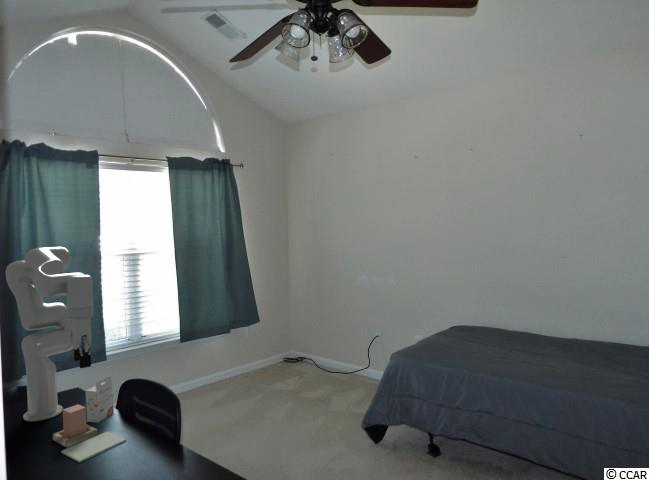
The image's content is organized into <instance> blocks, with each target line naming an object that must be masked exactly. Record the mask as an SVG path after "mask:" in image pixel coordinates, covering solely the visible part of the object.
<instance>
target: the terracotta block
mask: <svg viewBox="0 0 649 480" xmlns="http://www.w3.org/2000/svg"><path fill="white" fill-rule="evenodd" d="M62 421H63V422H62V423H63V426H62V427H63V430H64V437H66V438H68V439H71V438H73V437H76V436H78V435H81V434H83V433H86V432H87V428H86V424H87V408H86V406H83V405H81V404H78V403H77V404H75V405H72V406H69V407H67V408H63V411H62Z"/></svg>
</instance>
